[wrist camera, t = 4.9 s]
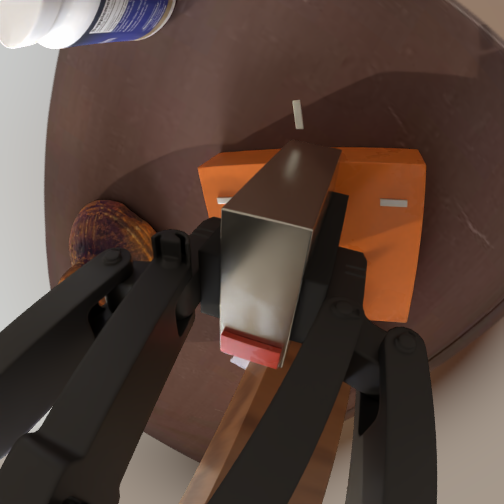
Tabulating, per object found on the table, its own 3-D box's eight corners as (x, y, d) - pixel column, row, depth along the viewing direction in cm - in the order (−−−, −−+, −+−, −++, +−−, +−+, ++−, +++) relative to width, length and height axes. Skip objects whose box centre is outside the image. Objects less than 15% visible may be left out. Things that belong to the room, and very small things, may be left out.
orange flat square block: (416, 94, 14) (426, 100, 11) (405, 292, 20) (406, 324, 18) (210, 105, 18) (184, 114, 16) (245, 280, 25) (229, 307, 22)
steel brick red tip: (290, 139, 15) (216, 211, 8) (342, 149, 14) (311, 234, 8) (277, 242, 18) (216, 353, 12) (320, 253, 18) (279, 374, 11)
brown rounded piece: (159, 197, 23) (94, 248, 18) (189, 315, 30) (149, 373, 24) (67, 195, 27) (11, 233, 21) (102, 293, 34) (62, 335, 28)
